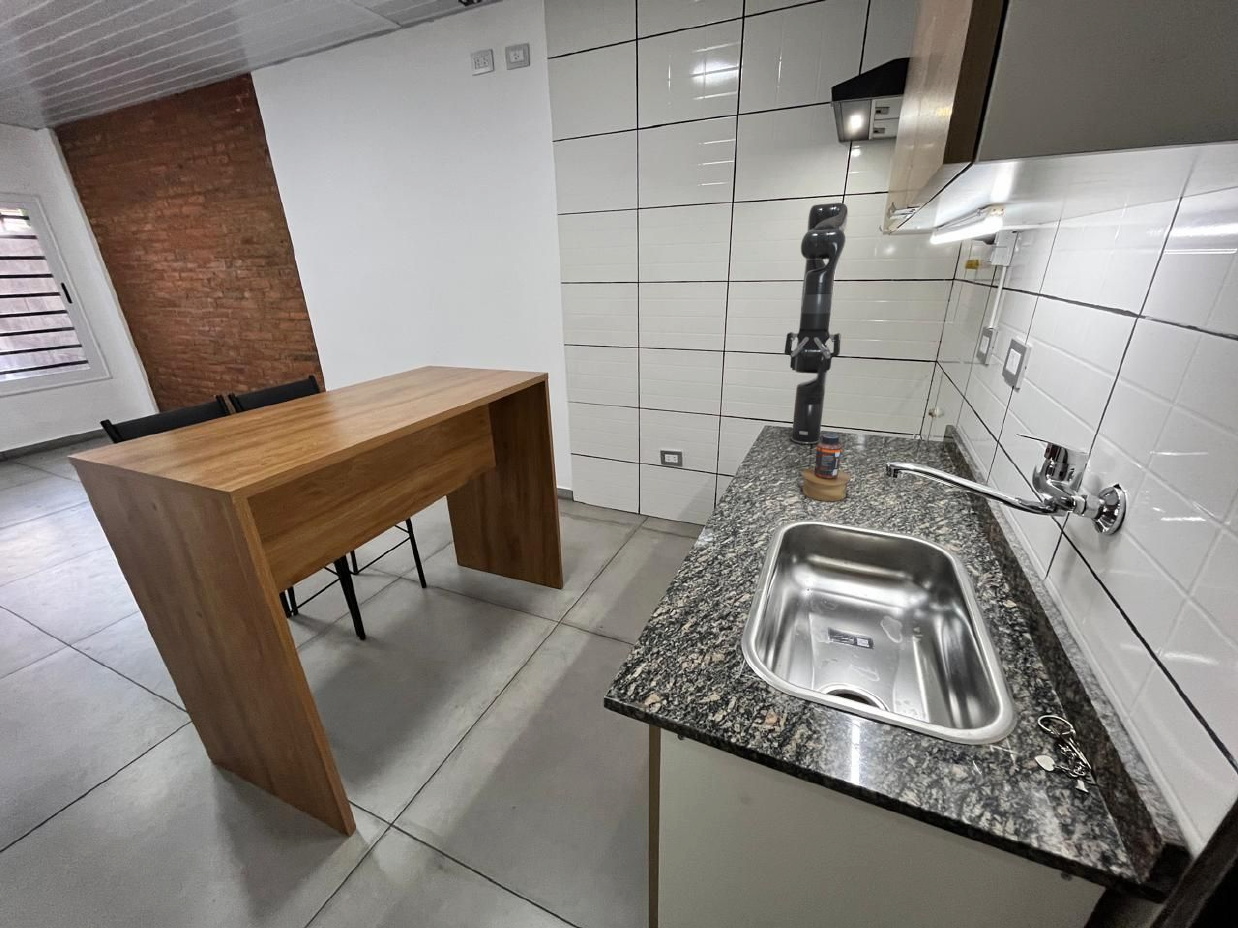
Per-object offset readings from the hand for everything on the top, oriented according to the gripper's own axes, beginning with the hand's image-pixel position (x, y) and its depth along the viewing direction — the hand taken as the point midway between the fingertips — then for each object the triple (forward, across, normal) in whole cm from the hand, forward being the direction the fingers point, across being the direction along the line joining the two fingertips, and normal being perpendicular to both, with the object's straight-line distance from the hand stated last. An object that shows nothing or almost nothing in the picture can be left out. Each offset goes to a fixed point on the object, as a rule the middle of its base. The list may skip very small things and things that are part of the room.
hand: (809, 370), depth 137 cm
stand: (+30, -10, +14) cm, 35 cm away
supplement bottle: (+25, -10, +14) cm, 31 cm away
